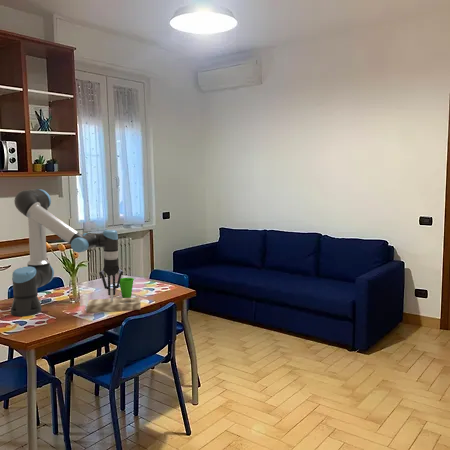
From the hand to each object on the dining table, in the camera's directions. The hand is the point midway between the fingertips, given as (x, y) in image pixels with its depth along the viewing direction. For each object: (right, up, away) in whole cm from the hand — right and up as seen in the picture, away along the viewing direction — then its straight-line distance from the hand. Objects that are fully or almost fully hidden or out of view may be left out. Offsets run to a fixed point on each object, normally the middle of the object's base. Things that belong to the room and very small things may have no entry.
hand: (112, 300), depth 254 cm
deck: (+1, -4, +2) cm, 4 cm away
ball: (+8, -2, +2) cm, 8 cm away
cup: (+4, -2, +21) cm, 22 cm away
